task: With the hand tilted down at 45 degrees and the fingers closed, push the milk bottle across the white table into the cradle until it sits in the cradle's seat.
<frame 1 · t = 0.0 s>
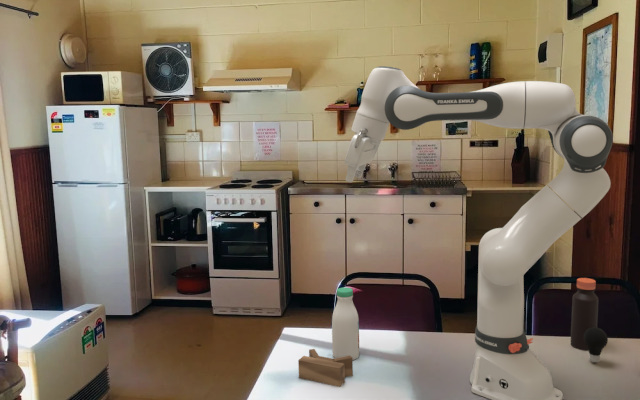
hand: (353, 179, 142), 52 cm above the table, tool tilted 20°, fingers open, 8 cm apart
cradle: (334, 367, 150), on the table
milk bottle: (346, 356, 157), on the table
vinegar: (583, 346, 160), on the table
light bulb: (594, 363, 149), on the table
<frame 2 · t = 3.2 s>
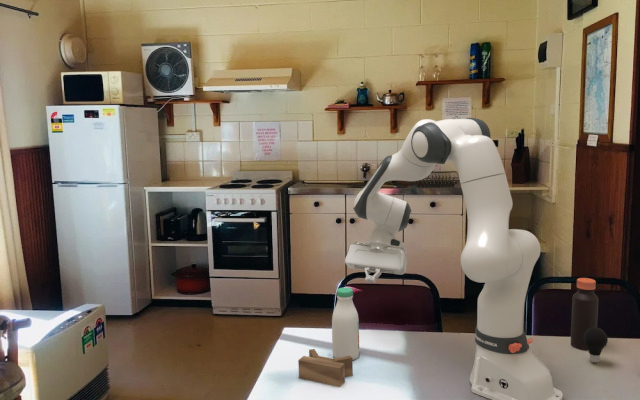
hand: (369, 281, 173), 16 cm above the table, tool tilted 45°, fingers closed
nothing on the table moved.
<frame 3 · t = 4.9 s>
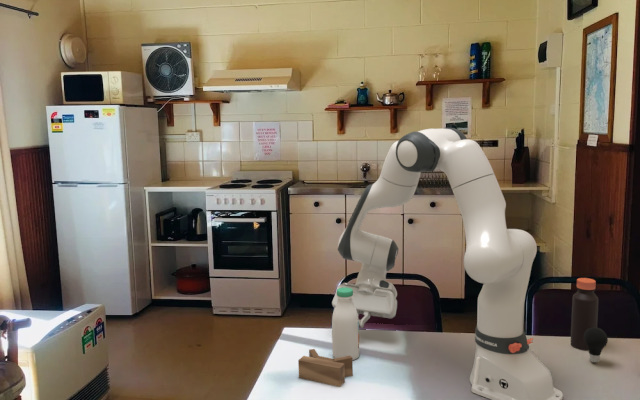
hand: (357, 326, 164), 6 cm above the table, tool tilted 45°, fingers closed
nothing on the table moved.
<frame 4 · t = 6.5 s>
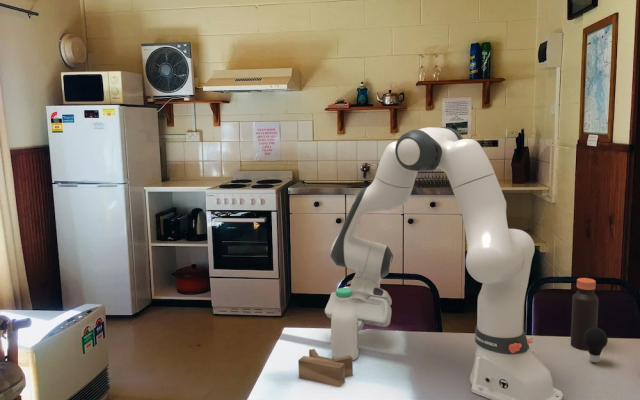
hand: (351, 335, 160), 5 cm above the table, tool tilted 45°, fingers closed, pressing on milk bottle
milk bottle: (345, 357, 156), on the table, touching gripper
everything else where it was.
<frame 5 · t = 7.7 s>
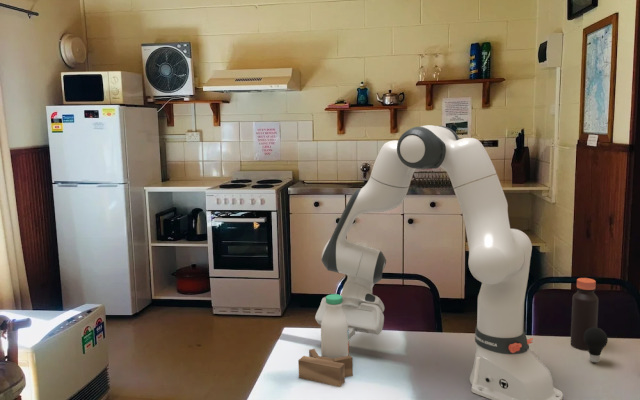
hand: (341, 342, 154), 5 cm above the table, tool tilted 45°, fingers closed, pressing on milk bottle
milk bottle: (335, 366, 151), on the table, touching gripper
everything else where it was.
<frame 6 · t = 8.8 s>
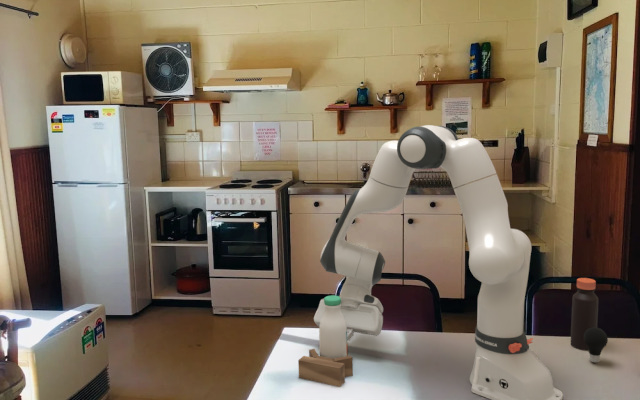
hand: (340, 344, 153), 5 cm above the table, tool tilted 45°, fingers closed
milk bottle: (334, 367, 150), on the table
everything else where it was.
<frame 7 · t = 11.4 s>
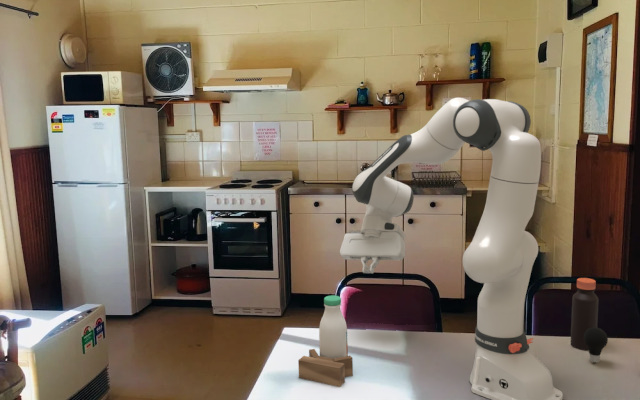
hand: (367, 272, 159), 23 cm above the table, tool tilted 35°, fingers closed
nothing on the table moved.
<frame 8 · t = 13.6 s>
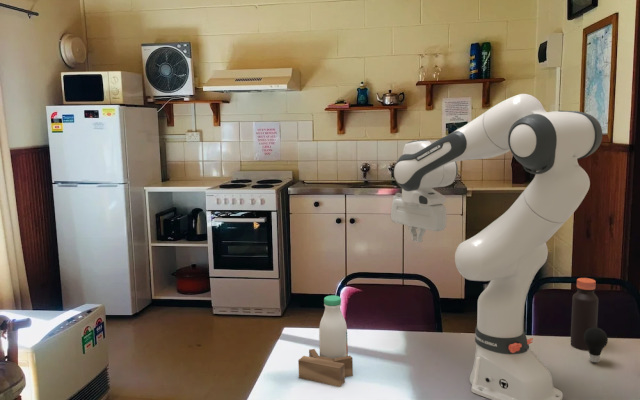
hand: (417, 241, 162), 31 cm above the table, tool pointing down, fingers closed
nothing on the table moved.
at the end: milk bottle 0.2 cm from the cradle (horizontally); milk bottle tilted 0° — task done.
